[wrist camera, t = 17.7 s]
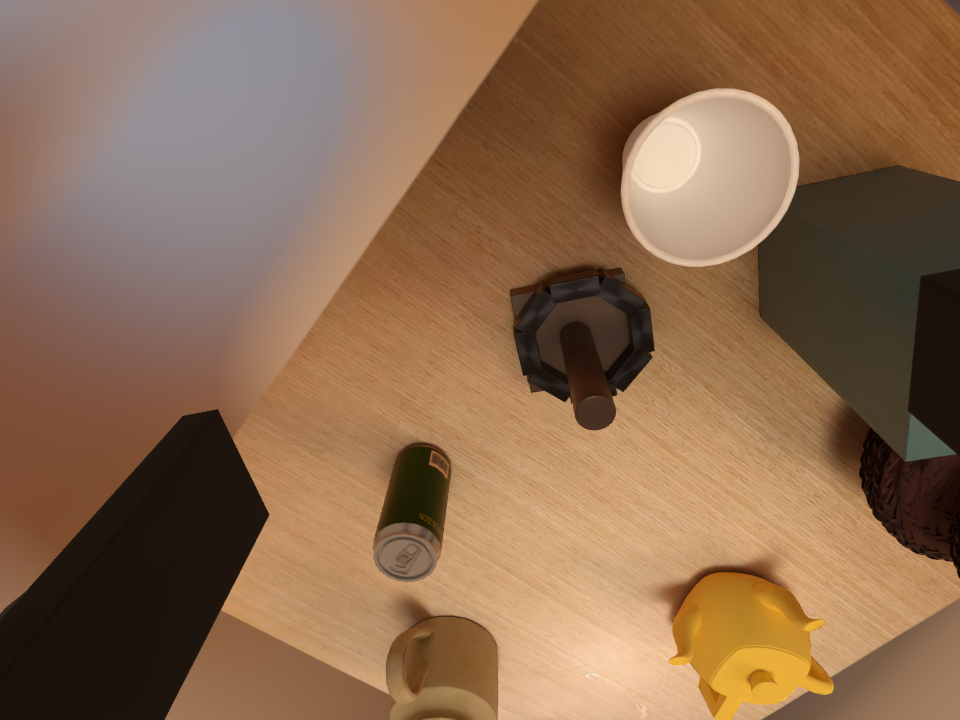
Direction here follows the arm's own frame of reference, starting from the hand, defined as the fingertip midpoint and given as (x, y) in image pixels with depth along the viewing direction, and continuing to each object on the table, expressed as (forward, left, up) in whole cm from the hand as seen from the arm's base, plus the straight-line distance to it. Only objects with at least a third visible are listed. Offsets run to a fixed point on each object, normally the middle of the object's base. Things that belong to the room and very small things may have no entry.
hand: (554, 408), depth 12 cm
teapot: (+49, +13, -37) cm, 62 cm away
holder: (+15, +2, -37) cm, 40 cm away
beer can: (+26, -14, -37) cm, 47 cm away
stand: (+12, +22, -37) cm, 44 cm away
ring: (+15, +2, -35) cm, 38 cm away
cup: (+3, +10, -37) cm, 38 cm away
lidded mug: (+50, -19, -37) cm, 65 cm away
